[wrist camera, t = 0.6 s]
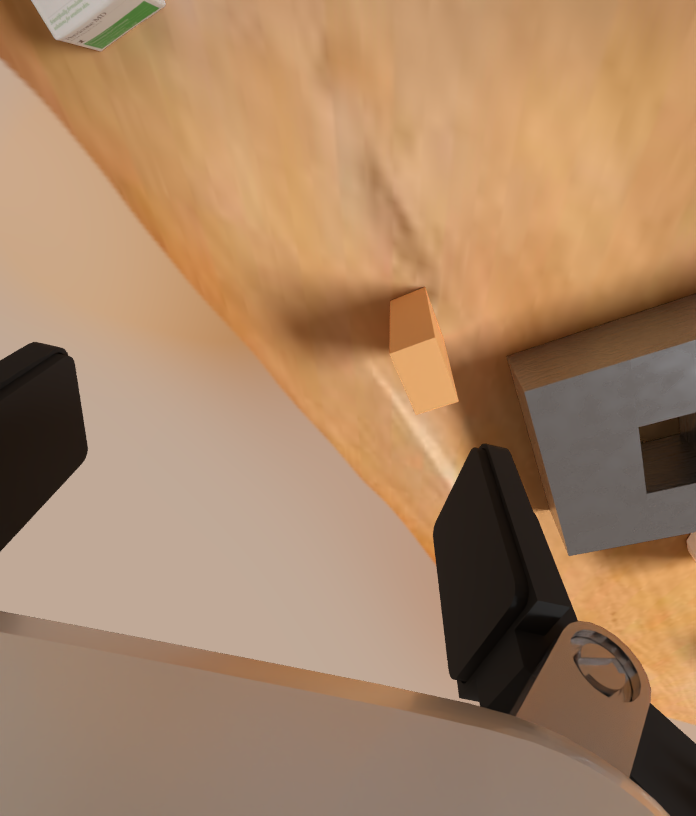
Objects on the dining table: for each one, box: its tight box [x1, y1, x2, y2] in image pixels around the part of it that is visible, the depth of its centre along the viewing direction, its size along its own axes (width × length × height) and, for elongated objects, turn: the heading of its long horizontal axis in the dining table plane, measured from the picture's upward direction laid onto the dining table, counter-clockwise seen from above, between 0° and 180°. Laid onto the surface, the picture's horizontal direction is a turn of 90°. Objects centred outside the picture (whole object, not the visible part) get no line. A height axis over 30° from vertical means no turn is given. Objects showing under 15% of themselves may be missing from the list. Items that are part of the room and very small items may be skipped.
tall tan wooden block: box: [389, 287, 459, 415], centre depth 32 cm, size 3×5×10 cm, turn 24°
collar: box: [507, 294, 696, 556], centre depth 36 cm, size 20×20×6 cm
